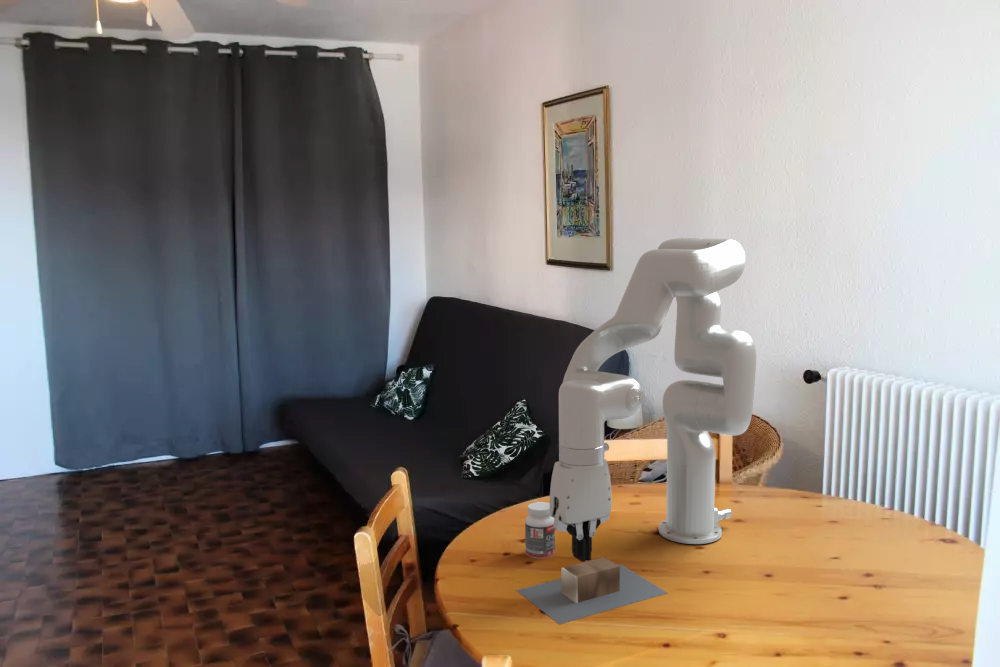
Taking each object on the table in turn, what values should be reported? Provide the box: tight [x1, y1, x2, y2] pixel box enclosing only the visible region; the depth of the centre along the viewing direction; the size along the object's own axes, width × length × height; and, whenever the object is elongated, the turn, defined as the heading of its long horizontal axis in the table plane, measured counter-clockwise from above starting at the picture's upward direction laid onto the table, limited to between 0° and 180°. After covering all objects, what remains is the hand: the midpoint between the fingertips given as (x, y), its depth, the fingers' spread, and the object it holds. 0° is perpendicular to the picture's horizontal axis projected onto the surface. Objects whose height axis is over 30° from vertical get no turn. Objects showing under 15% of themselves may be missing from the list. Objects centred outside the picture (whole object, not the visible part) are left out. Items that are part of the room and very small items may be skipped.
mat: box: [515, 563, 669, 625], centre depth 145 cm, size 22×14×1 cm, turn 118°
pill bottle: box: [524, 501, 556, 559], centre depth 162 cm, size 6×6×10 cm
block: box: [560, 556, 620, 603], centre depth 145 cm, size 4×4×9 cm
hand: (581, 558), depth 143 cm, fingers closed
